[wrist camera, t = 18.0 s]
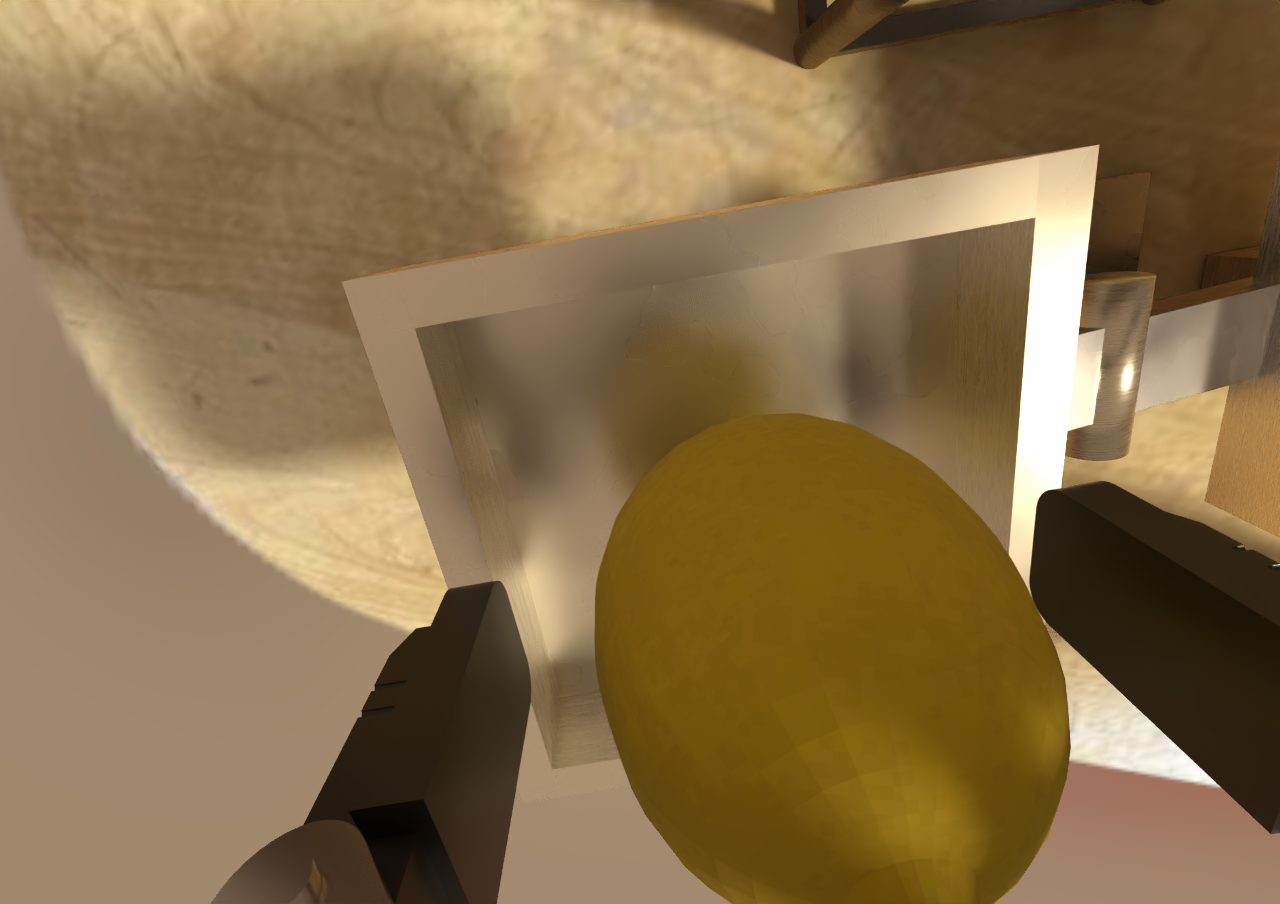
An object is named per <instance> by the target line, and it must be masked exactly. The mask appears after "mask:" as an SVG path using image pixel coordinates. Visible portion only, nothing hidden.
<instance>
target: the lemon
mask: <svg viewBox="0 0 1280 904" xmlns="http://www.w3.org/2000/svg"><path fill="white" fill-rule="evenodd" d="M594 644H595V663H596V671H597V678H598V684H599V688H600V693H601V697H602V702H603V705H604V709H605V712H606V715H607V719H608V722H609V726H610V729H611V732H612V735H613V738H614V741H615V744H616V747H617V750H618V753H619V756H620V759H621V762H622V765H623V767H624V770H625V773H626V775H627V778H628V780H629V783H630V786H631V788H632V790H633V792H634V794H635V796H636V798H637V800H638V801H639V803H640V805H641V807H642V809H643V811H644V813H645V815H646V816H647V817H648V819H649V820H650V821H651V822H652V824H653V825H654V827H655V828H656V829H657V831H658V832H659V833H660V835H661V836H662V837H663V839H664V840H665V841H666V842H667V844H668V845H669V846H670V848H671V849H672V850H673V852H674V853H675V854H676V856H677V857H678V858H679V859H680V861H681V862H682V863H683V865H684V866H685V867H686V868H687V869H688V870H689V871H690V872H692V873H693V874H694V875H695V876H696V877H697V878H698V879H700V880H701V881H702V882H703V883H704V884H705V885H706V886H708V887H709V888H710V889H712V890H713V891H714V892H716V893H717V894H719V895H720V896H722V897H723V898H724V899H726V900H727V901H729V902H730V903H732V904H996V903H997V902H998V901H999V900H1000V899H1001V898H1002V897H1003V896H1005V895H1006V894H1007V893H1008V892H1009V891H1010V890H1011V889H1012V888H1013V887H1014V886H1015V885H1016V884H1017V883H1018V882H1019V880H1020V879H1021V877H1022V876H1023V874H1024V873H1025V871H1026V870H1027V868H1028V867H1029V865H1030V864H1031V862H1032V861H1033V859H1034V858H1035V856H1036V854H1037V853H1038V852H1039V850H1040V848H1041V847H1042V845H1043V843H1044V842H1045V840H1046V839H1047V837H1048V835H1049V832H1050V829H1051V826H1052V823H1053V820H1054V818H1055V815H1056V812H1057V809H1058V805H1059V802H1060V799H1061V795H1062V792H1063V789H1064V785H1065V782H1066V779H1067V772H1068V764H1069V756H1070V749H1071V745H1070V729H1069V714H1068V703H1067V694H1066V684H1065V677H1064V674H1063V671H1062V667H1061V664H1060V661H1059V658H1058V654H1057V651H1056V648H1055V646H1054V644H1053V642H1052V639H1051V637H1050V635H1049V633H1048V631H1047V629H1046V626H1045V624H1044V622H1043V620H1042V618H1041V616H1040V614H1039V611H1038V609H1037V607H1036V605H1035V603H1034V601H1033V599H1032V597H1031V594H1030V592H1029V590H1028V588H1027V586H1026V584H1025V582H1024V580H1023V578H1022V577H1021V575H1020V573H1019V571H1018V569H1017V568H1016V566H1015V564H1014V562H1013V561H1012V559H1011V557H1010V556H1009V554H1008V553H1007V551H1006V550H1005V548H1004V547H1003V545H1002V544H1001V543H1000V541H999V540H998V538H997V537H996V536H995V534H994V533H993V532H992V531H991V529H990V528H989V527H988V526H987V524H986V523H985V522H984V521H983V519H982V518H981V517H980V516H979V515H978V514H977V513H976V512H975V511H974V510H973V509H972V508H971V507H970V506H969V505H968V504H967V503H966V502H965V501H964V500H963V499H962V498H961V497H960V496H959V495H958V494H957V493H956V492H955V491H954V490H953V489H952V488H951V487H950V486H949V485H948V484H947V483H946V482H945V481H943V480H942V479H941V478H940V477H939V476H938V475H937V474H936V473H935V472H934V471H933V470H932V469H930V468H929V467H928V466H927V465H925V464H924V463H923V462H922V461H920V460H919V459H917V458H916V457H914V456H912V455H911V454H909V453H908V452H906V451H904V450H902V449H900V448H898V447H896V446H894V445H892V444H891V443H889V442H887V441H885V440H883V439H881V438H879V437H877V436H875V435H873V434H871V433H869V432H867V431H865V430H863V429H861V428H859V427H856V426H854V425H851V424H847V423H843V422H839V421H834V420H830V419H825V418H820V417H816V416H811V415H806V414H802V413H787V414H761V415H750V416H746V417H743V418H739V419H735V420H732V421H728V422H725V423H721V424H717V425H714V426H711V427H709V428H707V429H706V430H704V431H702V432H700V433H698V434H696V435H694V436H693V437H691V438H689V439H687V440H685V441H683V442H682V443H680V444H678V445H676V446H675V447H674V448H673V449H672V450H671V451H670V452H669V453H668V454H666V455H665V456H664V457H663V458H662V459H661V460H660V461H659V462H658V463H656V464H655V465H654V466H653V467H652V468H651V469H650V470H649V471H648V472H647V473H645V474H644V475H643V477H642V478H641V480H640V481H639V483H638V484H637V486H636V487H635V489H634V490H633V492H632V493H631V495H630V496H629V498H628V499H627V501H626V502H625V504H624V505H623V507H622V508H621V510H620V512H619V514H618V515H617V517H616V520H615V522H614V525H613V528H612V531H611V534H610V537H609V540H608V543H607V546H606V549H605V552H604V555H603V558H602V562H601V565H600V568H599V572H598V577H597V582H596V592H595V629H594Z"/></svg>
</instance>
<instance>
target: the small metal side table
mask: <svg viewBox="0 0 1280 904" xmlns="http://www.w3.org/2000/svg"><path fill="white" fill-rule="evenodd" d="M907 1H909V0H835V1H834V2H833V3H832V4H831V5H830V6H829V7H828V8H827V1H826V0H798V12H799V30H800V35H799V36H798V38H797V40H796V42H795V45H794V56H795V59H796V61H797V63H798V64H799V65H800V66H801V67H803V68H805V69H813V68H816V67H818V66H819V65H821V64H822V63H823V62H825V61H826V60H828V59H829V58H830V57H836V56H841V55H846V54H852V53H857V52H863V51H868V50H873V49H879V48H884V47H889V46H895V45H900V44H905V43H911V42H916V41H921V40H927V39H932V38H938V37H943V36H948V35H954V34H959V33H964V32H970V31H975V30H980V29H986V28H991V27H996V26H1002V25H1007V24H1013V23H1018V22H1023V21H1029V20H1034V19H1039V18H1045V17H1050V16H1055V15H1061V14H1066V13H1072V12H1077V11H1082V10H1088V9H1093V8H1098V7H1104V6H1109V5H1114V4H1120V3H1125V2H1130V1H1136V0H979V1H973V2H968V3H963V4H957V5H952V6H947V7H941V8H936V9H931V10H925V11H920V12H915V13H910V14H904V15H899V16H894V17H888V18H885V17H887V16H888V15H889V14H891V13H892V12H894V11H895V10H896V9H898V8H899V7H900V6H902V5H903V4H905V3H906V2H907ZM1143 1H1144V2H1145V3H1146V4H1148V5H1157V4H1160V3H1162V2H1165V1H1167V0H1143Z"/></svg>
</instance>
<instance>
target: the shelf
mask: <svg viewBox="0 0 1280 904" xmlns="http://www.w3.org/2000/svg"><path fill="white" fill-rule="evenodd" d="M1098 153H1099V145H1093V146H1086V147H1079V148H1073V149H1066V150H1059V151H1052V152H1045V153H1038V154H1031V155H1024V156H1017V157H1010V158H1003V159H996V160H989V161H982V162H977V163H971V164H966V165H960V166H955V167H949V168H943V169H938V170H932V171H927V172H921V173H916V174H910V175H905V176H899V177H894V178H888V179H883V180H877V181H872V182H866V183H861V184H855V185H850V186H844V187H839V188H833V189H828V190H822V191H817V192H811V193H805V194H800V195H794V196H789V197H783V198H778V199H772V200H767V201H761V202H756V203H750V204H745V205H739V206H734V207H728V208H723V209H717V210H712V211H706V212H701V213H695V214H690V215H684V216H678V217H673V218H667V219H662V220H656V221H651V222H645V223H640V224H634V225H629V226H623V227H618V228H612V229H607V230H601V231H596V232H590V233H585V234H579V235H574V236H568V237H563V238H557V239H551V240H546V241H540V242H535V243H529V244H524V245H518V246H513V247H507V248H502V249H496V250H491V251H485V252H480V253H474V254H469V255H463V256H458V257H452V258H447V259H441V260H436V261H430V262H424V263H419V264H413V265H408V266H403V267H399V268H395V269H391V270H387V271H383V272H379V273H375V274H371V275H367V276H363V277H359V278H355V279H351V280H347V281H343V282H342V285H343V288H344V291H345V293H346V296H347V299H348V302H349V305H350V308H351V311H352V314H353V316H354V319H355V322H356V325H357V328H358V331H359V334H360V337H361V339H362V342H363V345H364V348H365V351H366V354H367V357H368V360H369V362H370V365H371V368H372V371H373V374H374V377H375V380H376V383H377V385H378V388H379V391H380V394H381V397H382V400H383V403H384V406H385V409H386V411H387V414H388V417H389V420H390V423H391V426H392V429H393V432H394V434H395V437H396V440H397V443H398V446H399V449H400V452H401V455H402V457H403V460H404V463H405V466H406V469H407V472H408V475H409V478H410V480H411V483H412V486H413V489H414V492H415V495H416V498H417V501H418V503H419V506H420V509H421V512H422V515H423V518H424V521H425V524H426V526H427V529H428V532H429V535H430V538H431V541H432V544H433V547H434V550H435V552H436V555H437V558H438V561H439V564H440V567H441V570H442V573H443V575H444V578H445V581H446V584H447V587H448V589H450V588H456V587H462V586H468V585H474V584H479V583H485V582H491V581H501V582H502V583H503V585H504V587H505V589H506V591H507V594H508V597H509V601H510V604H511V607H512V611H513V614H514V617H515V620H516V624H517V627H518V630H519V634H520V637H521V640H522V644H523V647H524V650H525V653H526V657H527V660H528V665H529V670H530V677H531V704H530V710H529V716H528V722H527V728H526V734H525V740H524V746H523V751H522V757H521V763H520V769H519V775H518V781H517V788H518V791H519V794H520V797H521V800H522V803H526V802H532V801H539V800H545V799H551V798H558V797H564V796H570V795H577V794H583V793H590V792H596V791H602V790H608V789H615V788H621V787H628V786H630V783H629V780H628V778H627V775H626V773H625V770H624V767H623V765H622V762H621V759H620V756H619V753H618V750H617V747H616V744H615V741H614V738H613V735H612V732H611V729H610V726H609V722H608V719H607V715H606V712H605V709H604V705H603V702H602V697H601V693H600V688H599V684H598V678H597V671H596V663H595V644H594V629H595V592H596V582H597V577H598V572H599V568H600V565H601V562H602V558H603V555H604V552H605V549H606V546H607V543H608V540H609V537H610V534H611V531H612V528H613V525H614V522H615V520H616V517H617V515H618V514H619V512H620V510H621V508H622V507H623V505H624V504H625V502H626V501H627V499H628V498H629V496H630V495H631V493H632V492H633V490H634V489H635V487H636V486H637V484H638V483H639V481H640V480H641V478H642V477H643V475H644V474H645V473H647V472H648V471H649V470H650V469H651V468H652V467H653V466H654V465H655V464H656V463H658V462H659V461H660V460H661V459H662V458H663V457H664V456H665V455H666V454H668V453H669V452H670V451H671V450H672V449H673V448H674V447H675V446H676V445H678V444H680V443H682V442H683V441H685V440H687V439H689V438H691V437H693V436H694V435H696V434H698V433H700V432H702V431H704V430H706V429H707V428H709V427H711V426H714V425H717V424H721V423H725V422H728V421H732V420H735V419H739V418H743V417H746V416H750V415H761V414H787V413H802V414H806V415H811V416H816V417H820V418H825V419H830V420H834V421H839V422H843V423H847V424H851V425H854V426H856V427H859V428H861V429H863V430H865V431H867V432H869V433H871V434H873V435H875V436H877V437H879V438H881V439H883V440H885V441H887V442H889V443H891V444H892V445H894V446H896V447H898V448H900V449H902V450H904V451H906V452H908V453H909V454H911V455H912V456H914V457H916V458H917V459H919V460H920V461H922V462H923V463H924V464H925V465H927V466H928V467H929V468H930V469H932V470H933V471H934V472H935V473H936V474H937V475H938V476H939V477H940V478H941V479H942V480H943V481H945V482H946V483H947V484H948V485H949V486H950V487H951V488H952V489H953V490H954V491H955V492H956V493H957V494H958V495H959V496H960V497H961V498H962V499H963V500H964V501H965V502H966V503H967V504H968V505H969V506H970V507H971V508H972V509H973V510H974V511H975V512H976V513H977V514H978V515H979V516H980V517H981V518H982V519H983V521H984V522H985V523H986V524H987V526H988V527H989V528H990V529H991V531H992V532H993V533H994V534H995V536H996V537H997V538H998V540H999V541H1000V543H1001V544H1002V545H1003V547H1004V548H1005V550H1006V551H1007V553H1008V554H1009V556H1010V557H1011V559H1012V561H1013V562H1014V564H1015V566H1016V568H1017V569H1018V571H1019V573H1020V575H1021V577H1022V578H1023V580H1024V582H1025V584H1026V586H1027V588H1028V590H1029V592H1030V594H1031V591H1030V585H1029V576H1030V566H1031V556H1032V545H1033V535H1034V525H1035V514H1036V506H1037V502H1038V499H1039V497H1040V496H1041V494H1042V493H1043V492H1045V491H1047V490H1051V489H1057V488H1061V481H1062V472H1063V464H1064V455H1065V456H1068V457H1072V458H1076V459H1082V460H1092V461H1106V460H1114V459H1119V458H1122V457H1124V456H1126V455H1127V454H1128V453H1129V447H1130V441H1131V434H1132V428H1133V421H1134V415H1135V412H1136V411H1140V410H1143V409H1147V408H1150V407H1154V406H1157V405H1161V404H1164V403H1168V402H1171V401H1175V400H1178V399H1182V398H1185V397H1189V396H1192V395H1196V394H1199V393H1203V392H1206V391H1210V390H1213V389H1217V388H1220V387H1224V386H1228V385H1230V386H1229V391H1228V396H1227V400H1226V405H1225V409H1224V414H1223V419H1222V423H1221V428H1220V433H1219V437H1218V442H1217V446H1216V451H1215V456H1214V460H1213V465H1212V469H1211V474H1210V479H1209V483H1208V488H1207V492H1206V497H1205V502H1207V503H1209V504H1211V505H1213V506H1215V507H1218V508H1220V509H1222V510H1224V511H1226V512H1228V513H1230V514H1232V515H1234V516H1236V517H1238V518H1240V519H1242V520H1244V521H1246V522H1248V523H1251V524H1253V525H1255V526H1257V527H1259V528H1261V529H1263V530H1265V531H1267V532H1269V533H1271V534H1273V535H1275V536H1277V537H1279V538H1280V156H1279V160H1278V165H1277V170H1276V174H1275V179H1274V183H1273V188H1272V193H1271V197H1270V202H1269V207H1268V211H1267V216H1266V220H1265V225H1264V230H1263V234H1262V239H1261V243H1260V246H1254V247H1249V248H1243V249H1237V250H1232V251H1226V252H1220V253H1215V254H1209V255H1207V258H1206V264H1205V269H1204V274H1203V280H1202V285H1201V290H1197V291H1193V292H1189V293H1185V294H1181V295H1177V296H1173V297H1169V298H1165V299H1160V300H1156V301H1152V300H1153V294H1154V288H1155V281H1156V274H1154V273H1149V272H1138V271H1137V267H1138V260H1139V253H1140V247H1141V240H1142V233H1143V226H1144V219H1145V212H1146V205H1147V198H1148V191H1149V184H1150V177H1151V172H1143V173H1131V174H1125V175H1119V176H1114V177H1108V178H1102V179H1097V180H1095V179H1096V171H1097V162H1098ZM1031 597H1032V595H1031ZM1032 599H1033V598H1032ZM1039 614H1040V613H1039ZM1040 616H1041V615H1040ZM1041 618H1042V620H1043V622H1044V624H1045V623H1046V621H1045V620H1044V619H1043V617H1042V616H1041Z"/></svg>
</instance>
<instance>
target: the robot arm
mask: <svg viewBox="0 0 1280 904" xmlns="http://www.w3.org/2000/svg"><path fill="white" fill-rule="evenodd" d="M1029 585H1030V591H1031V595H1032V598H1033V601H1034V603H1035V605H1036V607H1037V609H1038V611H1039V613H1040V615H1041V616H1042V617H1043V619H1044V620H1045V621H1046V622H1047V623H1048V624H1049V625H1050V626H1051V627H1052V628H1053V629H1054V630H1055V631H1056V632H1057V633H1058V634H1059V635H1060V636H1061V637H1062V638H1063V639H1064V640H1066V641H1067V642H1068V643H1069V644H1070V645H1071V646H1072V647H1073V648H1074V649H1075V650H1076V651H1077V652H1078V653H1079V654H1080V655H1081V656H1083V657H1084V658H1085V659H1086V660H1087V661H1088V662H1089V663H1090V664H1091V665H1092V666H1093V667H1094V668H1095V669H1096V670H1097V671H1098V672H1099V673H1101V674H1102V675H1103V676H1104V677H1105V678H1106V679H1107V680H1108V681H1109V682H1110V683H1111V684H1112V685H1113V686H1114V687H1115V688H1116V689H1118V690H1119V691H1120V692H1121V693H1122V694H1123V695H1124V696H1125V697H1126V698H1127V699H1128V700H1129V701H1130V702H1131V703H1132V704H1133V705H1134V706H1136V707H1137V708H1138V709H1139V710H1140V711H1141V712H1142V713H1143V714H1144V715H1145V716H1146V717H1147V718H1148V719H1149V720H1150V721H1151V722H1153V723H1154V724H1155V725H1156V726H1157V727H1158V728H1159V729H1160V730H1161V731H1162V732H1163V733H1164V734H1165V735H1166V736H1167V737H1168V738H1169V739H1171V740H1172V741H1173V742H1174V743H1175V744H1176V745H1177V746H1178V747H1179V748H1180V749H1181V750H1182V751H1183V752H1184V753H1185V754H1186V755H1188V756H1189V757H1190V758H1191V759H1192V760H1193V761H1194V762H1195V763H1196V764H1197V765H1198V766H1199V767H1200V768H1201V769H1202V770H1203V771H1204V772H1206V773H1207V774H1208V775H1209V776H1210V777H1211V778H1212V779H1213V780H1214V781H1215V782H1216V783H1217V784H1218V785H1219V786H1220V787H1221V788H1223V789H1224V790H1225V791H1226V792H1227V793H1228V794H1229V795H1230V796H1231V797H1232V798H1233V799H1234V800H1235V801H1236V802H1237V803H1238V804H1239V805H1241V806H1242V807H1243V808H1244V809H1245V810H1246V811H1247V812H1248V813H1249V814H1250V815H1251V816H1252V817H1253V818H1254V819H1255V820H1256V821H1258V822H1259V823H1260V824H1261V825H1262V826H1263V827H1264V828H1265V829H1266V830H1267V831H1268V832H1269V833H1270V834H1275V833H1280V564H1279V563H1277V562H1275V561H1273V560H1272V559H1270V558H1268V557H1266V556H1264V555H1262V554H1260V553H1258V552H1256V551H1254V550H1248V551H1247V550H1246V549H1245V547H1244V545H1243V544H1241V543H1239V542H1237V541H1235V540H1233V539H1232V538H1230V537H1228V536H1226V535H1224V534H1222V533H1220V532H1218V531H1216V530H1214V529H1212V528H1211V527H1209V526H1207V525H1205V524H1203V523H1200V522H1197V521H1193V520H1190V519H1187V518H1184V517H1181V516H1178V515H1174V514H1171V513H1168V512H1165V511H1163V510H1161V509H1159V508H1157V507H1155V506H1153V505H1151V504H1150V503H1148V502H1146V501H1144V500H1142V499H1140V498H1139V497H1137V496H1135V495H1133V494H1131V493H1129V492H1127V491H1126V490H1124V489H1122V488H1120V487H1118V486H1116V485H1114V484H1112V483H1110V482H1105V481H1099V482H1093V483H1087V484H1081V485H1075V486H1069V487H1063V488H1057V489H1051V490H1047V491H1045V492H1043V493H1042V494H1041V496H1040V497H1039V499H1038V502H1037V506H1036V514H1035V525H1034V535H1033V545H1032V556H1031V566H1030V576H1029ZM374 686H375V691H371V693H370V695H369V697H368V699H367V701H366V703H365V705H364V707H363V709H362V717H359V718H358V719H357V721H356V723H355V725H354V726H353V728H352V730H351V732H350V734H349V736H348V739H347V740H346V742H345V744H344V746H343V748H342V750H341V752H340V754H339V756H338V758H337V760H336V762H335V764H334V766H333V768H332V770H331V772H330V774H329V776H328V778H327V780H326V782H325V783H324V785H323V787H322V790H321V791H320V793H319V795H318V797H317V799H316V801H315V803H314V805H313V807H312V809H311V811H310V813H309V815H308V817H307V819H306V821H305V823H304V825H303V826H300V827H298V828H295V829H293V830H291V831H289V832H287V833H285V834H283V835H282V836H280V837H278V838H277V839H275V840H273V841H271V842H270V843H269V844H267V845H266V846H265V847H263V848H262V849H260V850H259V851H258V852H257V853H255V854H254V855H253V856H252V857H251V858H250V859H248V860H247V861H246V862H245V863H244V864H243V865H242V866H241V867H240V868H239V869H238V870H237V871H236V872H235V873H234V874H233V875H232V876H231V877H230V879H229V880H228V881H227V882H226V883H225V885H224V886H223V887H222V888H221V890H220V891H219V893H218V894H217V895H216V897H215V898H214V900H213V901H212V903H211V904H497V898H498V892H499V886H500V880H501V875H502V869H503V863H504V857H505V851H506V845H507V839H508V834H509V827H510V822H511V816H512V810H513V804H514V798H515V792H516V787H517V781H518V775H519V769H520V763H521V757H522V751H523V746H524V740H525V734H526V728H527V722H528V716H529V710H530V704H531V677H530V670H529V665H528V660H527V657H526V653H525V650H524V647H523V644H522V640H521V637H520V634H519V630H518V627H517V624H516V620H515V617H514V614H513V611H512V607H511V604H510V601H509V597H508V594H507V591H506V589H505V587H504V585H503V583H502V582H501V581H491V582H485V583H479V584H474V585H468V586H462V587H456V588H450V589H448V591H447V592H446V593H445V595H444V598H443V600H442V602H441V604H440V607H439V609H438V611H437V613H436V616H435V618H434V620H433V622H432V625H431V626H428V627H422V628H416V629H415V630H414V631H413V632H412V633H411V634H410V635H409V636H408V637H407V638H406V639H405V640H404V641H403V642H402V644H400V646H399V647H398V648H397V649H396V650H395V651H394V652H393V653H392V654H391V655H390V656H389V658H388V660H387V662H386V664H385V666H384V667H383V669H382V671H381V673H380V675H379V677H378V679H377V681H376V683H375V685H374Z"/></svg>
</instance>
